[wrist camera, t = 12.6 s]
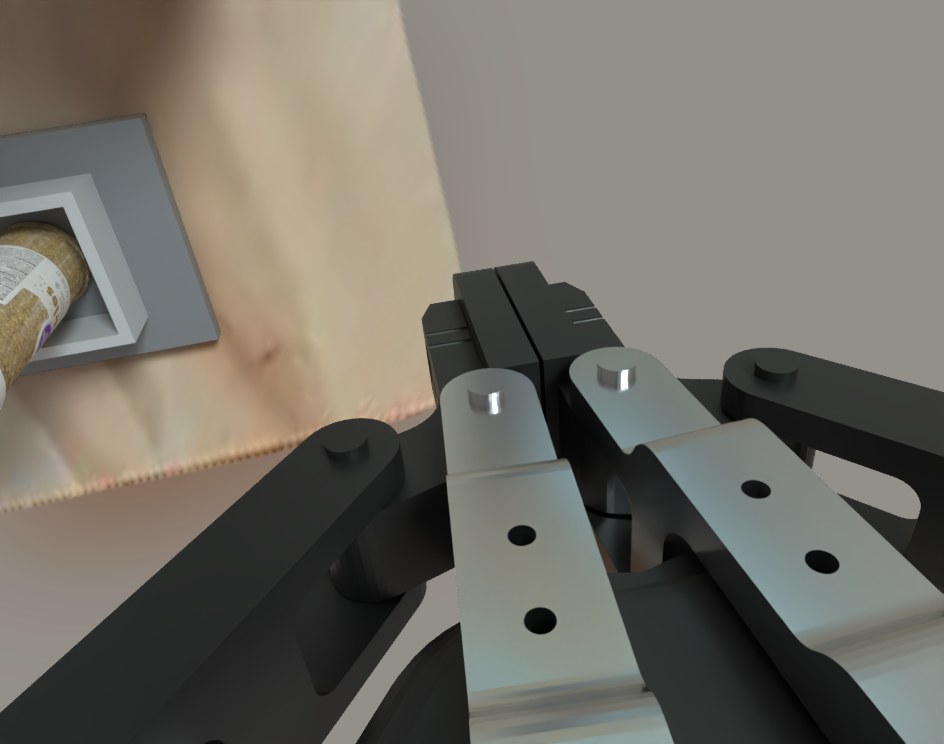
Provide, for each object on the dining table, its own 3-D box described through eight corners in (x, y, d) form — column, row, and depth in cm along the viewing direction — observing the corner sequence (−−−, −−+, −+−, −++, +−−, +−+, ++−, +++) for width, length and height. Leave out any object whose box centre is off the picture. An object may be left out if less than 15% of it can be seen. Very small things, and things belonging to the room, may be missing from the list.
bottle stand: (-162, 161, 33) (-218, 185, 30) (145, 113, 34) (124, 132, 31) (-35, 377, 39) (-69, 418, 36) (220, 331, 41) (210, 366, 37)
